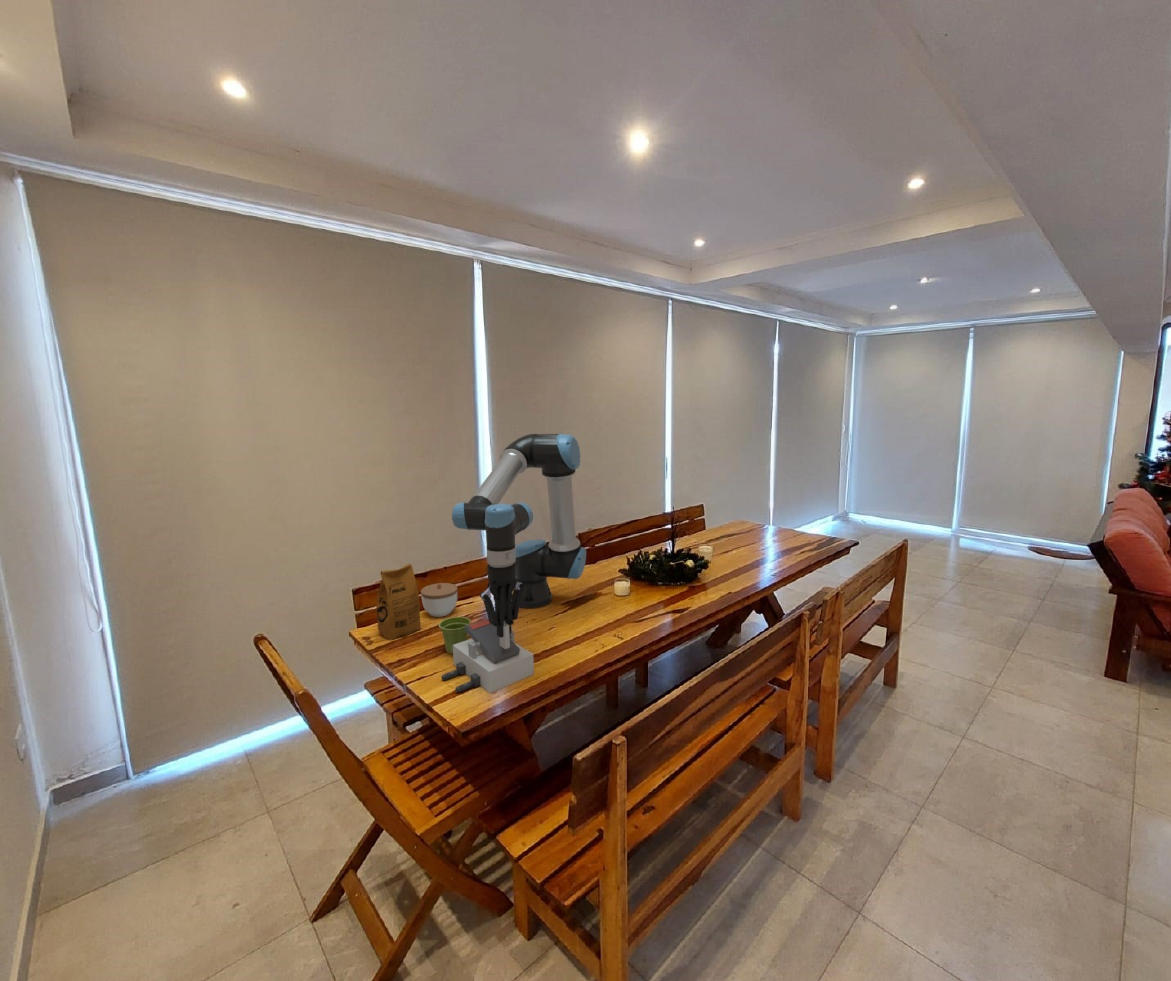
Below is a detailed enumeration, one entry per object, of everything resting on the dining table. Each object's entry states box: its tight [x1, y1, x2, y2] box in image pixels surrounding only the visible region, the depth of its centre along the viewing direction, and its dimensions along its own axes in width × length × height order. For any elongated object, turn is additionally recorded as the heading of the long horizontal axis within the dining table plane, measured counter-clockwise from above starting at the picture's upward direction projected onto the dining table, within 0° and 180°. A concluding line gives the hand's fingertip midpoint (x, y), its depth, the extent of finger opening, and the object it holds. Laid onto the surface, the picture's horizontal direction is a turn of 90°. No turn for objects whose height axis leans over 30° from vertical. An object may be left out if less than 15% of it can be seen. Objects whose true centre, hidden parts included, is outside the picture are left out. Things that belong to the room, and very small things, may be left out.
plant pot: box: [438, 616, 472, 654], centre depth 156 cm, size 9×9×9 cm
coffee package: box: [376, 563, 421, 641], centre depth 167 cm, size 10×12×22 cm
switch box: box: [441, 629, 535, 694], centre depth 141 cm, size 21×20×10 cm
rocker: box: [465, 618, 520, 663], centre depth 143 cm, size 11×16×2 cm, turn 42°
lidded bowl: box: [420, 582, 458, 618], centre depth 183 cm, size 13×13×11 cm
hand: (504, 646), depth 138 cm, fingers closed
